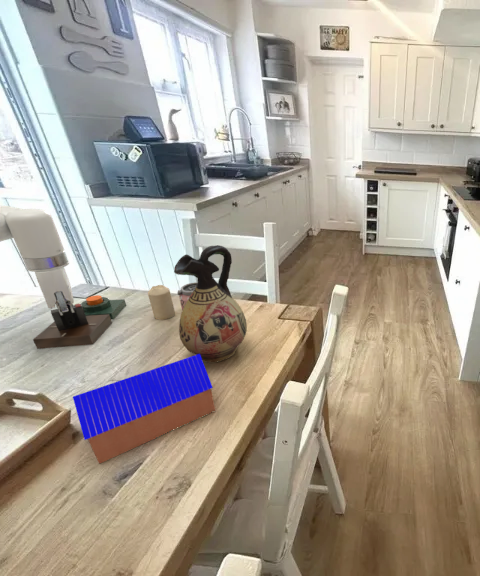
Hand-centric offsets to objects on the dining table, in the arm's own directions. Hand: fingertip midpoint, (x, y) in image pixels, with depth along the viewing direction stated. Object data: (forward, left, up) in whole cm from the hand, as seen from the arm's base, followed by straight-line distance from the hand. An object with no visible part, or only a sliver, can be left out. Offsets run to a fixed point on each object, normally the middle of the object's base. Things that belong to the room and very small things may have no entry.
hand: (72, 323), depth 88 cm
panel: (0, 0, -4) cm, 4 cm away
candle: (+19, +8, -4) cm, 21 cm away
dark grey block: (0, 0, -1) cm, 1 cm away
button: (0, +12, 0) cm, 12 cm away
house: (+30, -35, -4) cm, 46 cm away
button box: (0, +12, -4) cm, 13 cm away
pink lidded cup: (+30, +3, -4) cm, 30 cm away
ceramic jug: (+39, -14, -4) cm, 42 cm away
